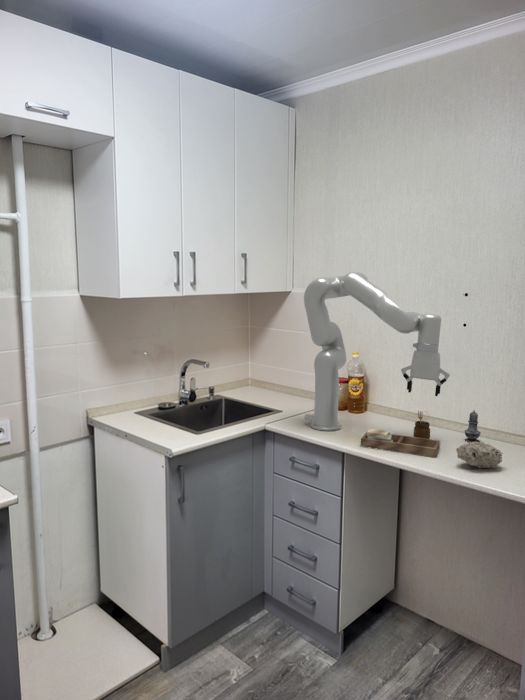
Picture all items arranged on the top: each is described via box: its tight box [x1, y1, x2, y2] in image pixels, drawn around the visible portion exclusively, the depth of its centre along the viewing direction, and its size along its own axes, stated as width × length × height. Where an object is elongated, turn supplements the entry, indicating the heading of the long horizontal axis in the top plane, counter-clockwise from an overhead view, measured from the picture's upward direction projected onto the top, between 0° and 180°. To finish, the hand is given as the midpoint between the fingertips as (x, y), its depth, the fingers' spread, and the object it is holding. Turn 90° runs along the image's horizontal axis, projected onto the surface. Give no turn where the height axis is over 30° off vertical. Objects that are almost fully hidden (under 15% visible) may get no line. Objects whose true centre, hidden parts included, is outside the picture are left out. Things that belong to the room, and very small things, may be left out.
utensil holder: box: [412, 410, 431, 439], centre depth 201 cm, size 6×6×12 cm
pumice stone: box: [456, 441, 503, 469], centre depth 175 cm, size 14×12×8 cm
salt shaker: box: [463, 409, 481, 443], centre depth 203 cm, size 6×6×12 cm
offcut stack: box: [366, 428, 393, 442], centre depth 195 cm, size 9×7×5 cm
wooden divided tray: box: [360, 431, 441, 458], centre depth 193 cm, size 26×11×3 cm, turn 66°
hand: (422, 393), depth 200 cm, fingers open, 9 cm apart
